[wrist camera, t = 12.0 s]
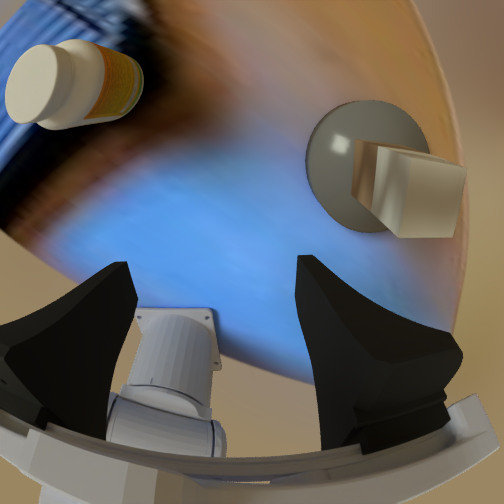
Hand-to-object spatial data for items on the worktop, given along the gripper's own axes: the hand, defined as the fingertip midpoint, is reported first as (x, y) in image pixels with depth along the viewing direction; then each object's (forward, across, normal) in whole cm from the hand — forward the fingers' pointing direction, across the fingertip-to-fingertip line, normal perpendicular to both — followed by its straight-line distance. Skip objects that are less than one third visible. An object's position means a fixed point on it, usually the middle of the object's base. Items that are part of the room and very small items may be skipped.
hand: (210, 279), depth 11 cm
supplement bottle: (+11, +8, -10) cm, 17 cm away
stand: (+10, -11, -3) cm, 15 cm away
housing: (+8, -11, -3) cm, 14 cm away
